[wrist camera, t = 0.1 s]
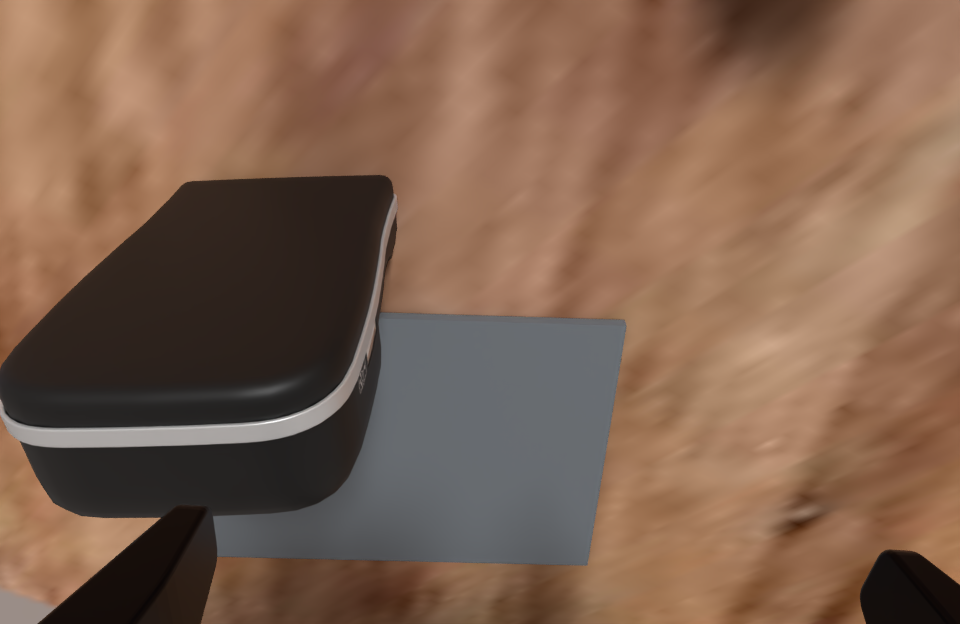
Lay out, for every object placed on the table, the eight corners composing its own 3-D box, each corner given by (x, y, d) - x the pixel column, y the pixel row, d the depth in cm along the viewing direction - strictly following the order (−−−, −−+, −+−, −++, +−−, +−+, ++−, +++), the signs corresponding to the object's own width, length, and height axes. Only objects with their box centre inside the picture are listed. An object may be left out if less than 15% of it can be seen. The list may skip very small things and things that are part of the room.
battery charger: (204, 285, 24) (15, 555, 14) (176, 176, 22) (-64, 403, 12) (410, 278, 24) (363, 547, 14) (400, 169, 22) (337, 392, 12)
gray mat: (586, 557, 31) (587, 565, 31) (212, 548, 31) (209, 556, 30) (624, 319, 25) (626, 326, 25) (159, 305, 25) (155, 311, 24)
